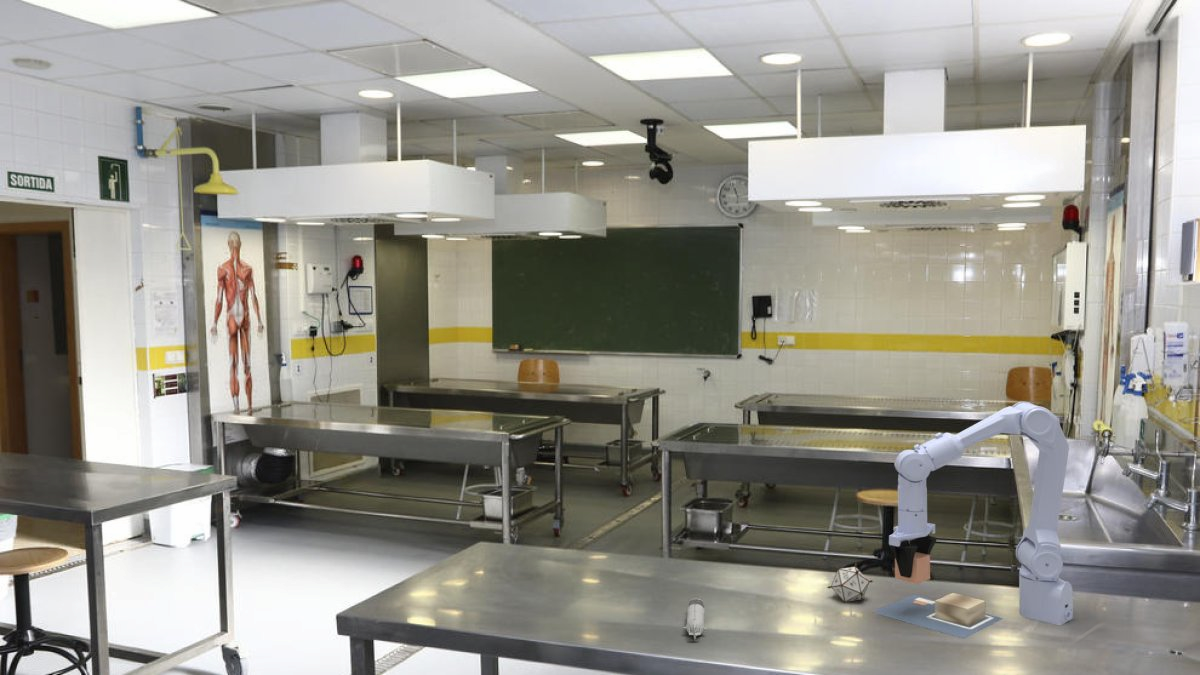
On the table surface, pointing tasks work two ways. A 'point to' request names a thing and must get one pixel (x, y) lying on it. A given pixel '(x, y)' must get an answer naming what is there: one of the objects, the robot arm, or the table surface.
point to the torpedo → (695, 618)
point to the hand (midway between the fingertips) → (912, 573)
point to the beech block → (960, 609)
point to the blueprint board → (931, 617)
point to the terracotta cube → (916, 569)
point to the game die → (850, 584)
